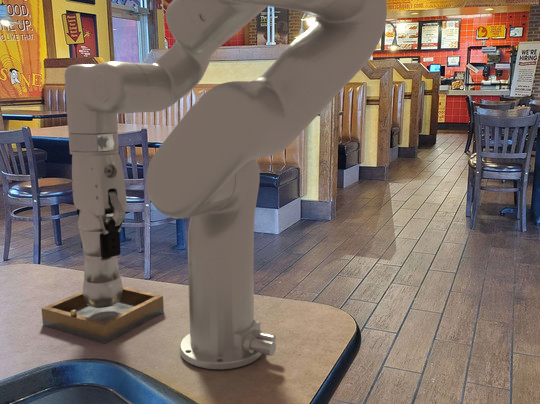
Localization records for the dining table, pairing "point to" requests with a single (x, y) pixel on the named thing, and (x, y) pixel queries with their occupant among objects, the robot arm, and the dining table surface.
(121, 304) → the collar base
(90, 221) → the plastic bottle
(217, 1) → the robot arm
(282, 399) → the dining table surface
